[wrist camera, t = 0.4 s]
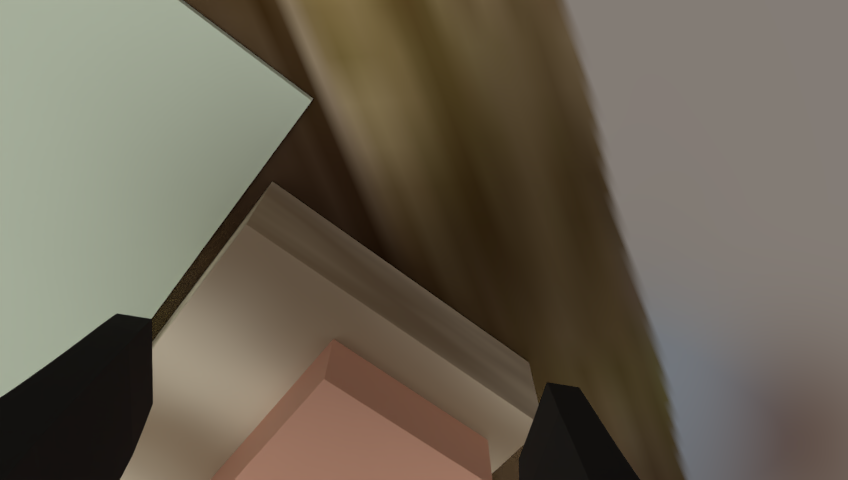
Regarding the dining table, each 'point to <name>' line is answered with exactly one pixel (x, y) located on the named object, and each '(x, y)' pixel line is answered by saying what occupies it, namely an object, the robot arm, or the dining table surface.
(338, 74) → the dining table surface
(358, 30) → the dining table surface
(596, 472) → the robot arm
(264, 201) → the deck
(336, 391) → the tile
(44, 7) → the mat
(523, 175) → the dining table surface
